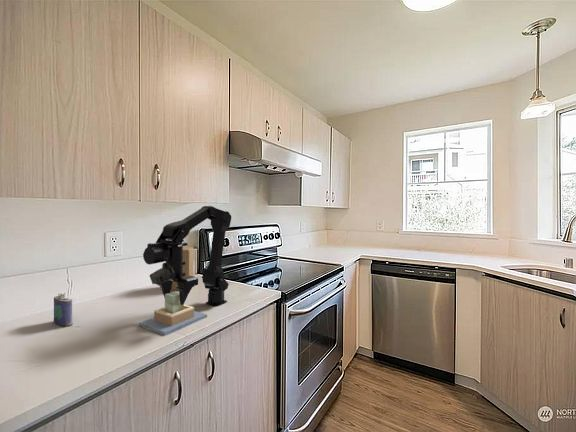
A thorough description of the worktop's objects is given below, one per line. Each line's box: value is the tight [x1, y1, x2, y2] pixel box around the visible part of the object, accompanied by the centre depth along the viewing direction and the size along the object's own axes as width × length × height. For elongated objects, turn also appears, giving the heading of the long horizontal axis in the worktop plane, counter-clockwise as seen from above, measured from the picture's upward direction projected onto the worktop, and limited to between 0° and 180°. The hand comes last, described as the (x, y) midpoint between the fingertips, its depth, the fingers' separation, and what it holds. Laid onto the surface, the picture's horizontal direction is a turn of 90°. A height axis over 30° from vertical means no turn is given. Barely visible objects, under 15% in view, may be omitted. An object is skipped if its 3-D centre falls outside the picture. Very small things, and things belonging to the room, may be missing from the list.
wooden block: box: [171, 246, 195, 291], centre depth 144 cm, size 10×10×20 cm
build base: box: [138, 303, 208, 336], centre depth 103 cm, size 18×14×5 cm
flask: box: [53, 293, 74, 328], centre depth 100 cm, size 9×3×11 cm, turn 63°
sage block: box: [164, 290, 185, 313], centre depth 103 cm, size 4×4×6 cm
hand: (174, 302), depth 103 cm, fingers open, 8 cm apart
